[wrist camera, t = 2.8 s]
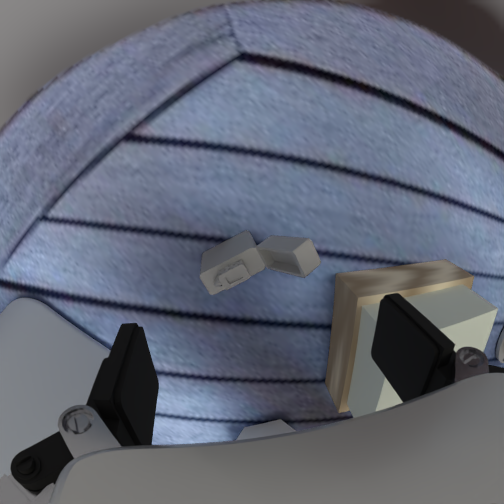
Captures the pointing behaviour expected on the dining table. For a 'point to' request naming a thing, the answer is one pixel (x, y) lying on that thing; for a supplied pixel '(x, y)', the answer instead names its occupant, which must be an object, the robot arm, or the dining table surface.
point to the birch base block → (370, 292)
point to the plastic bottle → (40, 374)
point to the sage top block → (442, 316)
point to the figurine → (265, 430)
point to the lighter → (255, 259)
